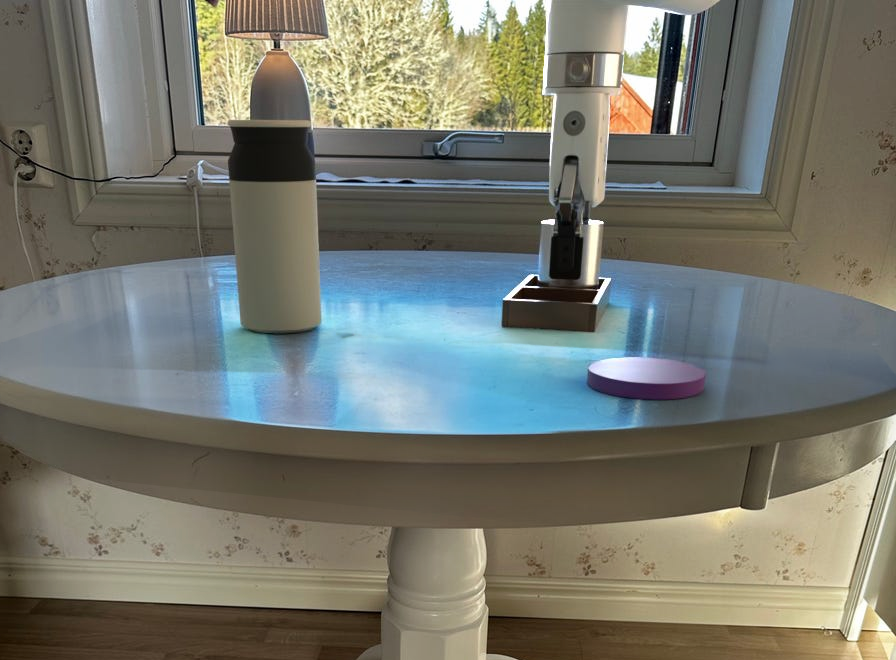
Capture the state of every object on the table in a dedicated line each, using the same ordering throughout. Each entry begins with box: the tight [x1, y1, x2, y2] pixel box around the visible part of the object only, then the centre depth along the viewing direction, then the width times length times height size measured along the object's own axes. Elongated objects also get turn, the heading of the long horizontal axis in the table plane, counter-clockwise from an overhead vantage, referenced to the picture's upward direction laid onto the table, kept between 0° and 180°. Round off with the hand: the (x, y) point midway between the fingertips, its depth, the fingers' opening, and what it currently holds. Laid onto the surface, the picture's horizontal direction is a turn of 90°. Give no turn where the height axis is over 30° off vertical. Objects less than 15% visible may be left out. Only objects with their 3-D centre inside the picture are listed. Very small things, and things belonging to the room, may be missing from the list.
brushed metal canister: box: [537, 219, 605, 290], centre depth 100 cm, size 6×6×8 cm
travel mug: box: [227, 119, 323, 334], centre depth 90 cm, size 8×8×18 cm
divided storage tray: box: [501, 274, 612, 333], centre depth 99 cm, size 9×17×3 cm, turn 165°
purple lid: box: [586, 356, 707, 401], centre depth 75 cm, size 9×9×1 cm
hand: (568, 272), depth 101 cm, fingers closed on brushed metal canister, 6 cm apart
